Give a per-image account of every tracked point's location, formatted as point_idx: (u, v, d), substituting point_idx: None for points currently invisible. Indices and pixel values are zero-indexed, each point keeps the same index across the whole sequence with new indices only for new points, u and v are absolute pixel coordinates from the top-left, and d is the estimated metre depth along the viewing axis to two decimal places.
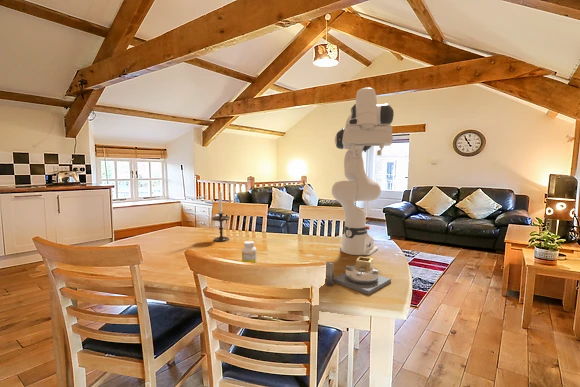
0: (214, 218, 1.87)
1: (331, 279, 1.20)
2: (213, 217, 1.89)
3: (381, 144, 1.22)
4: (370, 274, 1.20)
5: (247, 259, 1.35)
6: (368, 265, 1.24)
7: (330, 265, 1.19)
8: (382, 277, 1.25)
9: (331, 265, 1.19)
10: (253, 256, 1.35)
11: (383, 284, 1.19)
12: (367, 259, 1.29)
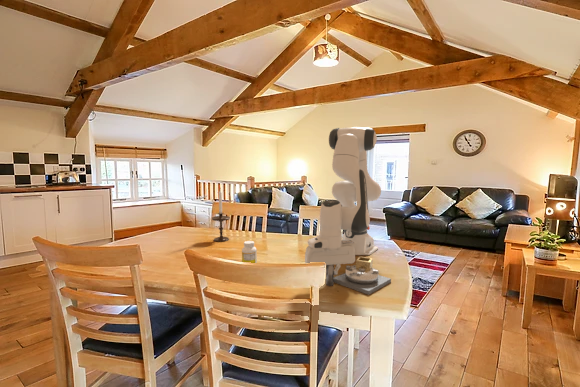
0: (214, 218, 1.87)
1: (331, 279, 1.20)
2: (213, 217, 1.89)
3: (338, 264, 1.20)
4: (370, 274, 1.20)
5: (247, 259, 1.35)
6: (368, 265, 1.24)
7: (330, 265, 1.19)
8: (382, 277, 1.25)
9: (331, 265, 1.19)
10: (253, 256, 1.35)
11: (383, 284, 1.19)
12: (367, 259, 1.29)
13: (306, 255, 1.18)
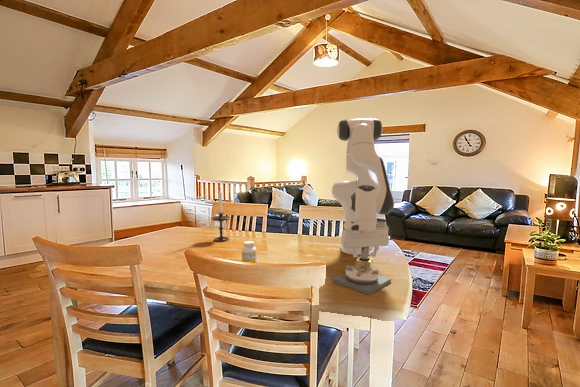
0: (214, 218, 1.87)
1: None
2: (213, 217, 1.89)
3: (376, 247, 1.26)
4: (370, 274, 1.20)
5: (247, 259, 1.35)
6: (368, 265, 1.24)
7: (365, 248, 1.25)
8: (382, 277, 1.25)
9: (366, 248, 1.25)
10: (253, 256, 1.35)
11: (383, 284, 1.19)
12: None
13: (343, 238, 1.24)
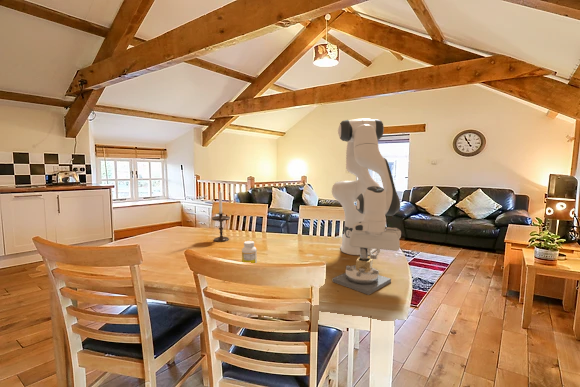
0: (214, 218, 1.87)
1: None
2: (213, 217, 1.89)
3: (377, 249, 1.24)
4: (370, 274, 1.20)
5: (247, 259, 1.35)
6: (368, 265, 1.24)
7: (364, 248, 1.25)
8: (382, 277, 1.25)
9: (365, 248, 1.25)
10: (253, 256, 1.35)
11: (383, 284, 1.19)
12: None
13: None
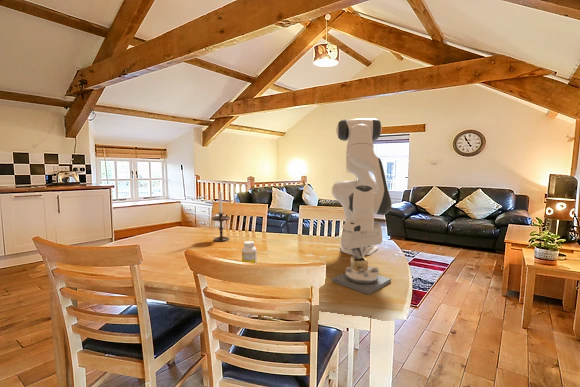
0: (214, 218, 1.87)
1: (361, 259, 1.26)
2: (213, 217, 1.89)
3: (365, 247, 1.27)
4: (372, 272, 1.21)
5: (247, 259, 1.35)
6: (366, 264, 1.25)
7: (356, 248, 1.25)
8: (382, 277, 1.25)
9: None
10: (253, 256, 1.35)
11: (383, 284, 1.19)
12: None
13: (344, 239, 1.22)
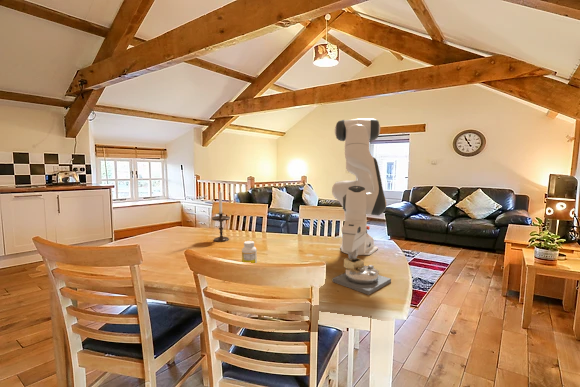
0: (214, 218, 1.87)
1: (356, 260, 1.26)
2: (213, 217, 1.89)
3: (358, 247, 1.28)
4: (372, 270, 1.24)
5: (247, 259, 1.35)
6: (362, 263, 1.26)
7: None
8: (382, 277, 1.25)
9: None
10: (253, 256, 1.35)
11: (383, 284, 1.19)
12: None
13: (348, 243, 1.18)
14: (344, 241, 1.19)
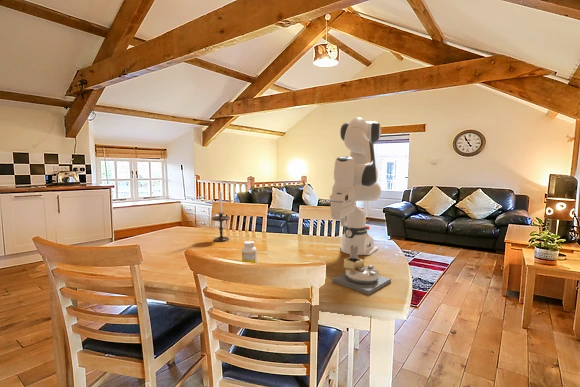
0: (214, 218, 1.87)
1: None
2: (213, 217, 1.89)
3: (347, 215, 1.32)
4: (372, 270, 1.24)
5: (247, 259, 1.35)
6: (362, 263, 1.26)
7: (357, 247, 1.27)
8: (382, 277, 1.25)
9: None
10: (253, 256, 1.35)
11: (383, 284, 1.19)
12: None
13: (336, 210, 1.22)
14: (332, 208, 1.23)
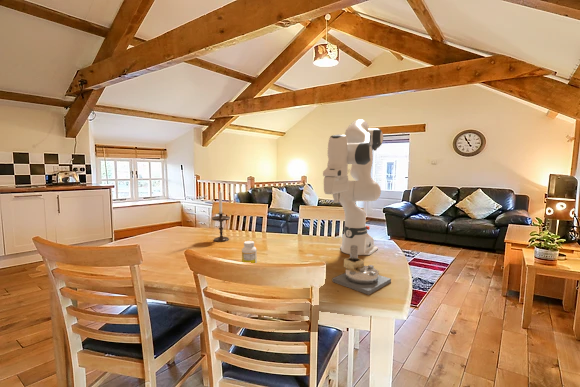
0: (214, 218, 1.87)
1: None
2: (213, 217, 1.89)
3: (340, 193, 1.35)
4: (372, 270, 1.24)
5: (247, 259, 1.35)
6: (362, 263, 1.26)
7: (357, 247, 1.27)
8: (382, 277, 1.25)
9: None
10: (253, 256, 1.35)
11: (383, 284, 1.19)
12: None
13: (328, 184, 1.25)
14: (325, 183, 1.26)
